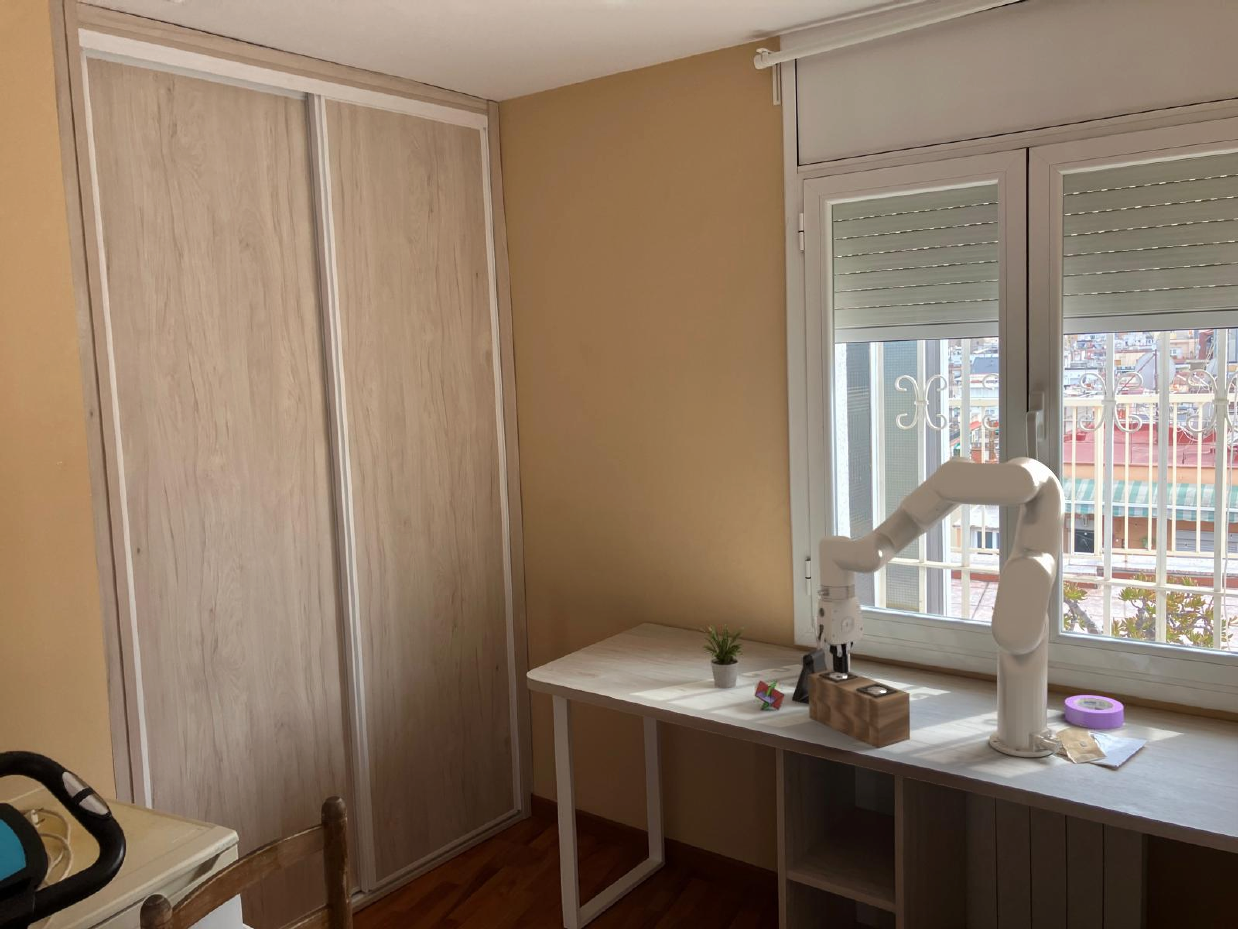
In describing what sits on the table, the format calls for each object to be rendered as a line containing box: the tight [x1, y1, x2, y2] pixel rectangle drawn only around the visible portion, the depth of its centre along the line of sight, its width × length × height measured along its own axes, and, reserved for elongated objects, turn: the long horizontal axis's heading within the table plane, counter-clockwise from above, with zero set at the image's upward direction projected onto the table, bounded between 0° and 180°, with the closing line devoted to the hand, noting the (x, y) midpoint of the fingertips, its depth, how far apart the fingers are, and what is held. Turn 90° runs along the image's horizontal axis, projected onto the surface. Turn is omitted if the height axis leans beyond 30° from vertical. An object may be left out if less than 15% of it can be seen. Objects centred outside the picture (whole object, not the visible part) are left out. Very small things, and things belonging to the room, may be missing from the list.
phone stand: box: [791, 647, 828, 705], centre depth 236 cm, size 9×6×12 cm, turn 52°
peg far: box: [829, 673, 848, 680], centre depth 223 cm, size 4×4×9 cm
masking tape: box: [1064, 694, 1124, 730], centre depth 218 cm, size 12×12×4 cm
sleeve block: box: [808, 669, 911, 749], centre depth 218 cm, size 22×9×10 cm, turn 30°
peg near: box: [867, 687, 887, 695], centre depth 213 cm, size 4×4×9 cm
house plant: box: [694, 621, 747, 689], centre depth 249 cm, size 14×14×16 cm
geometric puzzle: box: [754, 679, 785, 711], centre depth 232 cm, size 7×7×8 cm
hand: (840, 671), depth 222 cm, fingers closed
